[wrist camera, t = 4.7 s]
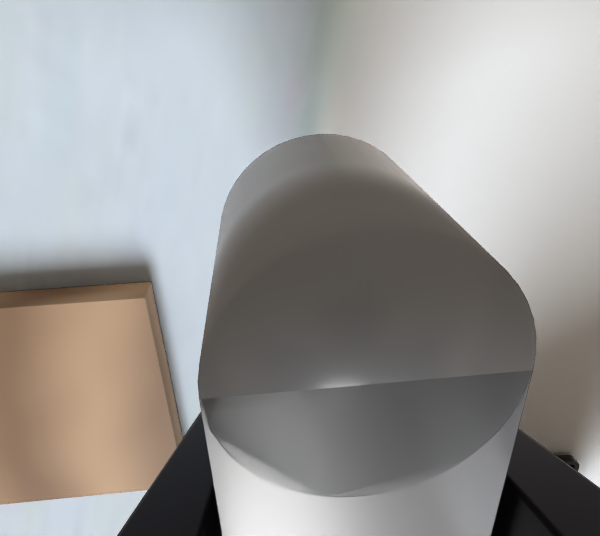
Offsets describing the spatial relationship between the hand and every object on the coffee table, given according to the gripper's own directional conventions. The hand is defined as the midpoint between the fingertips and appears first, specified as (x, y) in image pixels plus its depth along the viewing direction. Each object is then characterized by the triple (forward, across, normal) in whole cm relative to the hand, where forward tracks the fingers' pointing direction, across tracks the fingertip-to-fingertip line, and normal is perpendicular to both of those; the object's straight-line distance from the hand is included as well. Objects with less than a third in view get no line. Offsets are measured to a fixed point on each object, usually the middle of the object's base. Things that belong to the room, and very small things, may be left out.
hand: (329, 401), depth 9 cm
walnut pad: (+9, +11, +7) cm, 16 cm away
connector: (+1, 0, +1) cm, 2 cm away
